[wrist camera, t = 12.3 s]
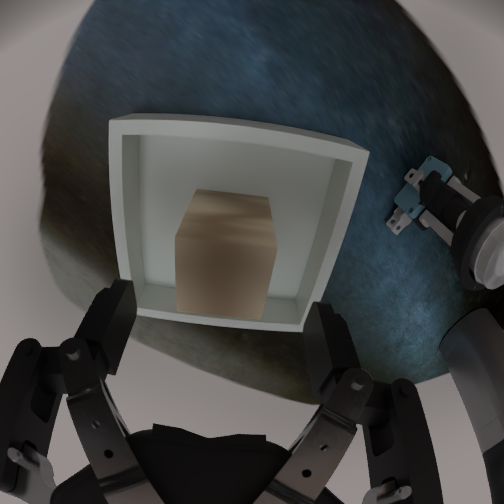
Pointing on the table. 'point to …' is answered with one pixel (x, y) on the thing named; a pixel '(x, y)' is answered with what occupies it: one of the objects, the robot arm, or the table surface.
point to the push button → (455, 221)
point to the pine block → (225, 255)
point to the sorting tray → (234, 181)
